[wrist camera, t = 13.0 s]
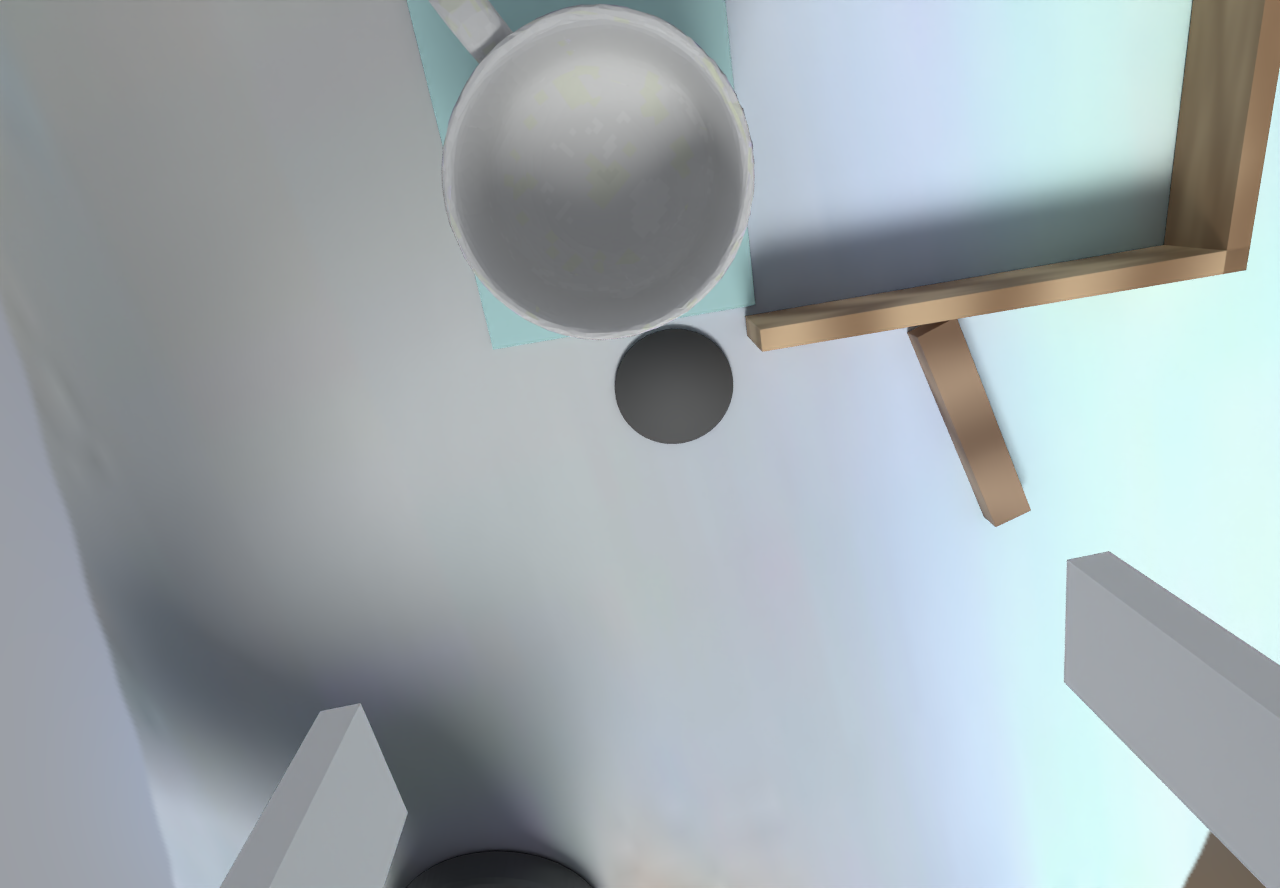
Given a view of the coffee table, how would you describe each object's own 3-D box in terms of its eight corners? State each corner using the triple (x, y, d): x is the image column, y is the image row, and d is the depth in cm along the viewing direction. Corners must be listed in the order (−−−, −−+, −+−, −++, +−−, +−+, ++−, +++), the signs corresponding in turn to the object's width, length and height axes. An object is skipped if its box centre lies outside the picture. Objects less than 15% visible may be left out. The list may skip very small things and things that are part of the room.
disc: (625, 451, 35) (625, 452, 34) (605, 339, 32) (605, 340, 32) (738, 432, 34) (739, 433, 34) (725, 319, 32) (725, 320, 32)
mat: (493, 348, 32) (493, 349, 32) (399, -34, 27) (397, -35, 27) (754, 304, 32) (755, 304, 32) (714, -92, 26) (715, -94, 26)
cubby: (747, 335, 33) (762, 351, 29) (698, -136, 26) (709, -183, 23) (1181, 262, 32) (1245, 270, 29) (1247, -239, 25) (1340, -302, 22)
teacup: (758, 240, 31) (804, 255, 23) (557, 346, 32) (541, 393, 25) (618, -82, 26) (620, -192, 19) (392, 59, 28) (309, 9, 20)
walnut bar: (904, 331, 33) (917, 337, 32) (941, 311, 33) (956, 317, 32) (980, 513, 37) (995, 527, 36) (1014, 497, 37) (1030, 510, 35)
